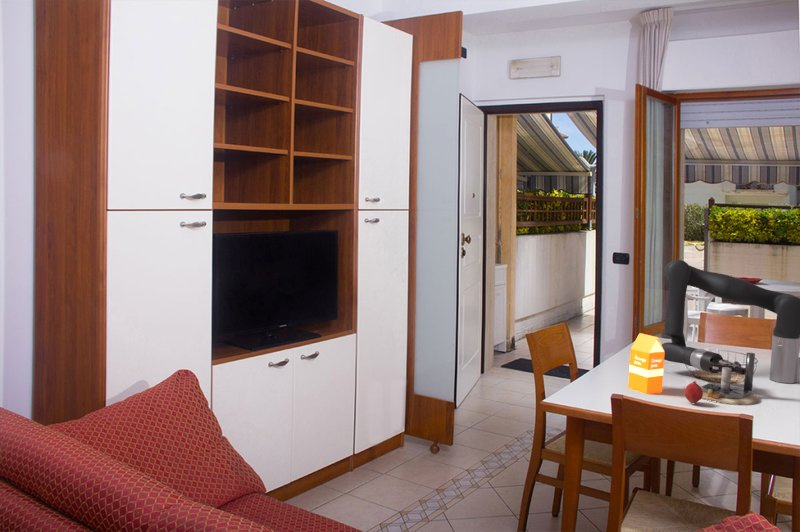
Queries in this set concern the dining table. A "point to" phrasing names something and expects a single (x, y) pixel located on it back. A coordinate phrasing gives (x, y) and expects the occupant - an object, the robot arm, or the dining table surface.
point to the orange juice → (646, 365)
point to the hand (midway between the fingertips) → (746, 372)
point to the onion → (693, 392)
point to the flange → (734, 390)
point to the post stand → (726, 387)
